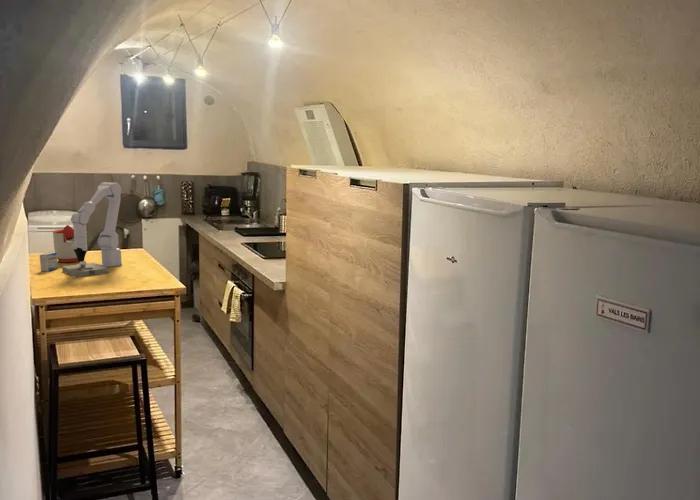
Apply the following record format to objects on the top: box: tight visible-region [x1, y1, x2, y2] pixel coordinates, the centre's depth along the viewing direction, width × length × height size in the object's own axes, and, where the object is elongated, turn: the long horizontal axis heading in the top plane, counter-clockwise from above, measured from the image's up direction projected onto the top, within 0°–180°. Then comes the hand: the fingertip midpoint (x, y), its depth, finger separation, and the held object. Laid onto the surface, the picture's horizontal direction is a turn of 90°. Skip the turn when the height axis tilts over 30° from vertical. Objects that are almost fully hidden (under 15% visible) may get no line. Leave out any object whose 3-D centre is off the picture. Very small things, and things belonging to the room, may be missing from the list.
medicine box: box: [39, 251, 59, 272], centre depth 337 cm, size 8×4×9 cm, turn 168°
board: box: [61, 262, 109, 278], centre depth 331 cm, size 16×20×2 cm
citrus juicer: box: [52, 224, 78, 264], centre depth 360 cm, size 16×17×20 cm
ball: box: [78, 259, 87, 267], centre depth 332 cm, size 4×4×4 cm
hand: (81, 263), depth 332 cm, fingers closed, pressing on ball
